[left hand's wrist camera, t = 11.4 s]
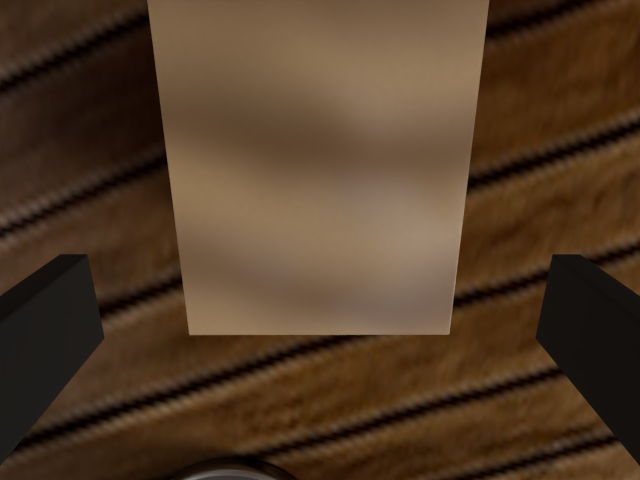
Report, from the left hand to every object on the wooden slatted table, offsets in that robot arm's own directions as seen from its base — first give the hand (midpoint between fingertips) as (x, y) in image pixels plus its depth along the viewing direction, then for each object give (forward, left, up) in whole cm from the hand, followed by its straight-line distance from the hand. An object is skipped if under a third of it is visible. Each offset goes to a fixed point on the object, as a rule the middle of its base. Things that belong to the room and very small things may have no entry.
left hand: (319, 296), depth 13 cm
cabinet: (+1, +4, -18) cm, 18 cm away
